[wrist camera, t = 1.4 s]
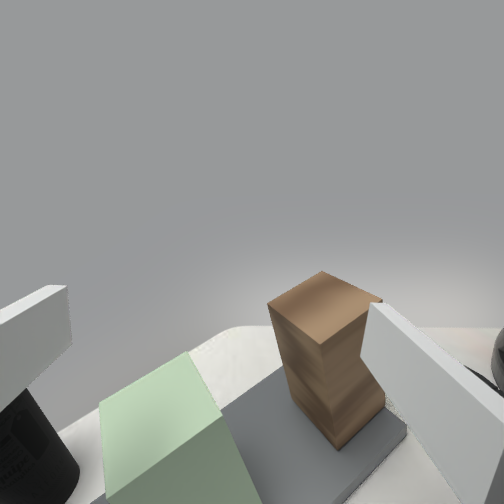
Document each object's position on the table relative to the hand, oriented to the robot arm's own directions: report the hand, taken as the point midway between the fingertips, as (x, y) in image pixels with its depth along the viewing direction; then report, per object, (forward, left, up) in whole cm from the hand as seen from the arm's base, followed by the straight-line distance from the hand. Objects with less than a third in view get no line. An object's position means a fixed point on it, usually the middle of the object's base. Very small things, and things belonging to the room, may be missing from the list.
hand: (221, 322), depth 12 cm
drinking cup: (+16, +18, -20) cm, 31 cm away
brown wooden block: (+4, -8, -18) cm, 20 cm away
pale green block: (+4, +5, -18) cm, 19 cm away
